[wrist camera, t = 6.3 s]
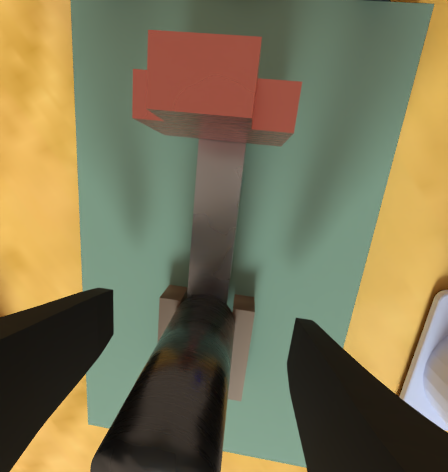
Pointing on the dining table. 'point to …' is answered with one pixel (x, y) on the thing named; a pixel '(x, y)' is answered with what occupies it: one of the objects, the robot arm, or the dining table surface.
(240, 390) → the rail guides
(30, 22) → the dining table surface
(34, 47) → the dining table surface
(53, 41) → the dining table surface
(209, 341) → the kicker rod
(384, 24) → the mat
